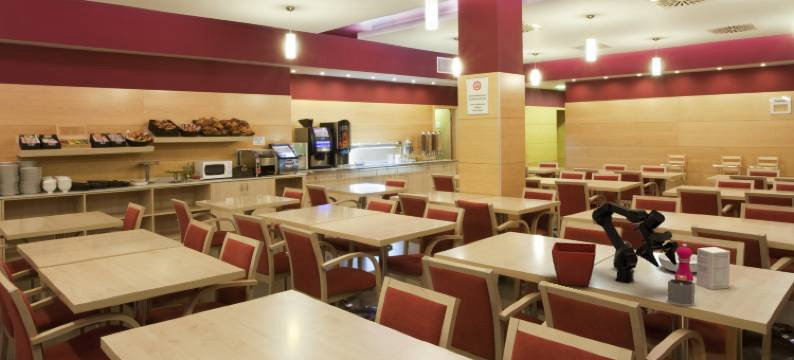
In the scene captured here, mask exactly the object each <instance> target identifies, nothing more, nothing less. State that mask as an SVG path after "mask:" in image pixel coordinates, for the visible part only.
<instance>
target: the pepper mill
mask: <svg viewBox="0 0 794 360" xmlns="http://www.w3.org/2000/svg"><path fill="white" fill-rule="evenodd" d="M687 246H688V245H687V243H682V245H681V246H680V247H677V249H676V253H677V255H678V256H679V257H678V261H679V267H678V270H677V272H675V274H674V279H677V275H685V276H687V279H686V280H689V281H691V282H694V276H693V272H692V273H691V270H690V267H689V263H690V261H691V260H690V259H691V258H690V257H691V256H692V254H693V252H692V251H693V250H691V248H689V247H687Z"/></svg>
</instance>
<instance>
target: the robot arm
mask: <svg viewBox="0 0 794 360" xmlns="http://www.w3.org/2000/svg"><path fill="white" fill-rule="evenodd" d="M614 214H616V215H619V216H622V217H625V219H626V220H627V221H629V223H631V224H636V225H635V228H634V232H639V234H640V236H641V237H642V243H645V244H640V245H639V246H638V247H637V248H636V249H634V248H633V247H632V248H628V247H627V246H626V245H625V243H624V242H623V241H624V240H623V238H622V237H621V235H620V234H619V232H618V230H617V229H616V227H615V225H614V224H613V215H614ZM591 218H592V219H593V221H594V222H595V223H596V224H597V225H598V226H600V227H601V228H602V229H603V231H604V232H605V234H606V236H607V237H608V239H609V241H610V243H611V245H612V246H613V248H614V249H615V251H617V252H616V258H617V260H616V261H615V262H613V268H615V269H616V278H615V281H616V282H621V283H626V284H629V283H631V282H633V281H634V280H635V279H634V278H635V277H634V276H635V272H634V270H633V269H636V267H637V265H638V260H639V257H640V258H642V259H644V260H646V262H649V263H650V264H652V266H654V267H656V268H659V267H660V265H659V263H658V262H659V261H658V260H657V259H656V257H655V255H654V252H655V251H656V252H657V251H662V252H663V253H665V255H666V257H667V258H668V259H669V260H670V261H671V262H672V263H673V264H674V265H676V264H677V263H676V258H675V252H676V251H677V250H678V248H679V246H680V245H679V243H678V242H677V241H676V240H672V238H673V234H672V232H671V231H670V230H667V231H664V232H663V233H659V232H656V229H658V228H659V227H660V226H661V225H662V224H663V223H664V222H665V221H666V216H665V215H664V214H663V213H662V212H660V211H658V210H657V209H651V210H650V212H649V213H648V212H647V211H646V209H639V208H636V209H635V208H630V207H627V206H625V205H621V204H619V203H616V202H614V201H609V202H605V203H603V205H601V206H599V207H597V208H596V209H594V210H593V212H592V213H591ZM637 224H638V225H637ZM671 240H672V241H671ZM666 241H667V242H666Z"/></svg>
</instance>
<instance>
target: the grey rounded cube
mask: <svg viewBox="0 0 794 360" xmlns="http://www.w3.org/2000/svg"><path fill="white" fill-rule="evenodd" d="M695 284H696V283H695V282H694V281H692V282H691V281H689V280H686V282H683V285H680V282H677V279H675V278H671V279H669V280H668V281H667V303H669V304H671V305H673V306H677V307H678V306H680V307H692V306H694V305H695V294H696V291H695V289H696V287H695Z"/></svg>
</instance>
